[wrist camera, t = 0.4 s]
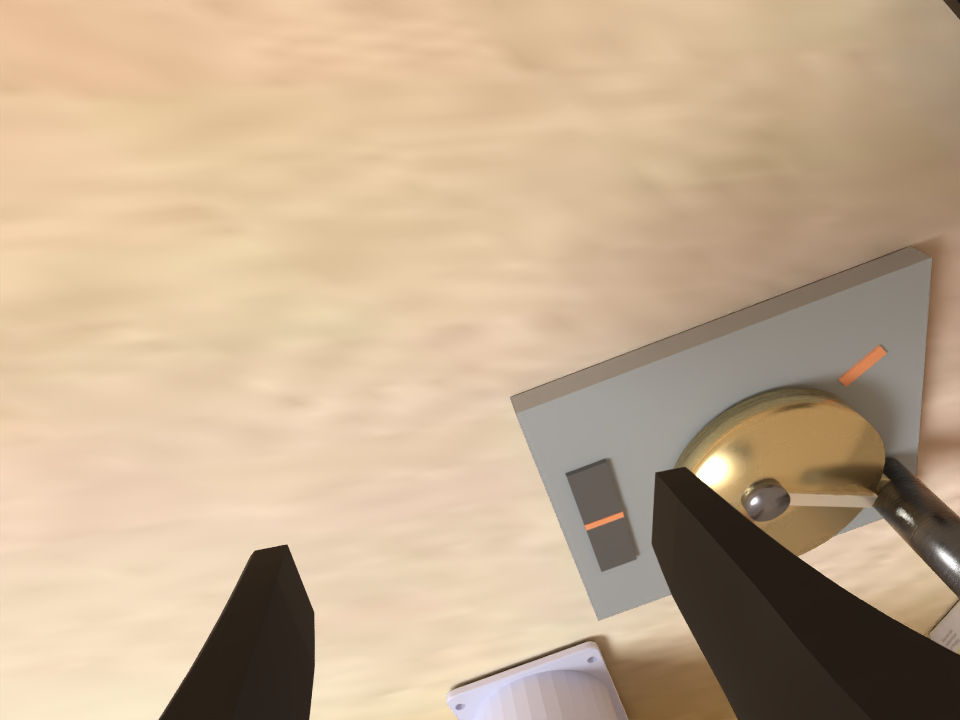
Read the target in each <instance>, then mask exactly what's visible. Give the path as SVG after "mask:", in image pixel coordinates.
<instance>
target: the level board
mask: <svg viewBox="0 0 960 720" xmlns="http://www.w3.org/2000/svg"><path fill="white" fill-rule="evenodd" d="M931 269H932V257H931V256H929V255H927V254H925V253H923V252H921V251H919V250H918V249H916V248H914V247H912V246H910V247H907V248H905V249H902V250H899V251H897V252H894V253H891V254H889V255H886V256H883V257H881V258H878V259H875V260H873V261H870V262H868V263H865V264H862V265H860V266H857V267H854V268H852V269H849V270H846V271H844V272H841V273H838V274H836V275H833V276H830V277H828V278H825V279H822V280H820V281H817V282H815V283H812V284H809V285H807V286H804V287H801V288H799V289H796V290H793V291H791V292H788V293H785V294H783V295H780V296H777V297H775V298H772V299H770V300H767V301H764V302H762V303H759V304H756V305H754V306H751V307H748V308H746V309H743V310H740V311H738V312H735V313H732V314H730V315H727V316H725V317H722V318H719V319H717V320H714V321H711V322H709V323H706V324H703V325H701V326H698V327H695V328H693V329H690V330H687V331H685V332H682V333H680V334H677V335H674V336H672V337H669V338H666V339H664V340H661V341H658V342H656V343H653V344H650V345H648V346H645V347H642V348H640V349H637V350H635V351H632V352H629V353H627V354H624V355H621V356H619V357H616V358H613V359H611V360H608V361H605V362H603V363H600V364H597V365H595V366H592V367H590V368H587V369H584V370H582V371H579V372H576V373H574V374H571V375H568V376H566V377H563V378H560V379H558V380H555V381H552V382H550V383H547V384H545V385H542V386H539V387H537V388H534V389H531V390H529V391H526V392H523V393H521V394H518V395H515V396H513V397H510V399H511V402H512V404H513V407H514V410H515V413H516V416H517V418H518V421H519V423H520V426H521V428H522V431H523V433H524V436H525V438H526V441H527V443H528V446H529V448H530V451H531V453H532V456H533V458H534V461H535V463H536V466H537V468H538V471H539V473H540V476H541V478H542V481H543V483H544V486H545V488H546V491H547V493H548V496H549V498H550V501H551V503H552V506H553V508H554V511H555V513H556V516H557V518H558V521H559V523H560V526H561V528H562V531H563V533H564V536H565V538H566V541H567V543H568V546H569V548H570V551H571V553H572V556H573V558H574V561H575V563H576V566H577V568H578V571H579V573H580V576H581V578H582V581H583V583H584V586H585V588H586V591H587V593H588V596H589V598H590V601H591V603H592V606H593V608H594V611H595V613H596V616H597V619H598V621H599V620H602V619H605V618H608V617H610V616H613V615H616V614H619V613H621V612H624V611H627V610H630V609H633V608H635V607H638V606H641V605H644V604H647V603H649V602H652V601H655V600H658V599H660V598H663V597H666V596H669V595H672V594H671V592H670V590H669V587H668V585H667V583H666V580H665V578H664V575H663V573H662V570H661V568H660V565H659V563H658V560H657V557H656V555H655V552H654V549H653V547H652V544H651V541H652V523H653V505H654V486H655V472H660V471H665V470H670V469H674V467H675V465H676V463H677V461H678V459H679V457H680V455H681V454H682V452H683V451H684V449H685V448H686V447H687V445H688V444H689V443H690V442H691V441H692V439H693V438H694V437H695V436H696V435H697V434H698V433H699V432H700V431H701V430H702V429H703V428H704V427H705V426H706V425H708V424H709V423H710V422H711V421H713V420H714V419H715V418H716V417H718V416H719V415H721V414H722V413H724V412H725V411H727V410H728V409H730V408H732V407H734V406H736V405H738V404H740V403H741V402H744V401H746V400H748V399H751V398H753V397H755V396H758V395H762V394H765V393H768V392H772V391H776V390H781V389H789V388H812V389H819V390H823V391H826V392H829V393H832V394H834V395H836V396H838V397H840V398H841V399H842V400H844V401H845V402H846V403H848V404H849V405H850V406H851V407H852V408H853V409H854V410H855V411H856V412H857V413H859V414H860V415H861V416H862V417H863V418H864V419H865V420H866V421H867V422H869V423H870V424H871V425H872V426H873V427H874V429H875V430H876V431H877V432H878V434H879V436H880V437H881V439H882V442H883V446H884V449H885V458H895V459H897V460H898V461H899V462H900V463H902V464H903V465H904V466H905V467H906V468H907V469H908V470H909V471H910V472H911V473H912V474H913V475H915V476H916V473H917V460H918V446H919V433H920V419H921V405H922V392H923V378H924V364H925V351H926V337H927V324H928V310H929V296H930V283H931ZM881 519H884V518H883V517H882V516H881V515H880V514H879V513H878V512H877V511H876V510H875V508H874V507H871V508H864V509H863V510H862V511H861V512H860V513H859V514H858V515H857V516H856V518H855V519H853V520H852V521H851V522H850V523H849V524H848V525H847V526H846V527H845V528H844V529H842V530H841V531H840V532H839V533H837V534H836V535H839V534H842V533H844V532H847V531H850V530H853V529H856V528H858V527H861V526H864V525H867V524H870V523H872V522H875V521H878V520H881ZM836 535H835V536H836Z"/></svg>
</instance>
